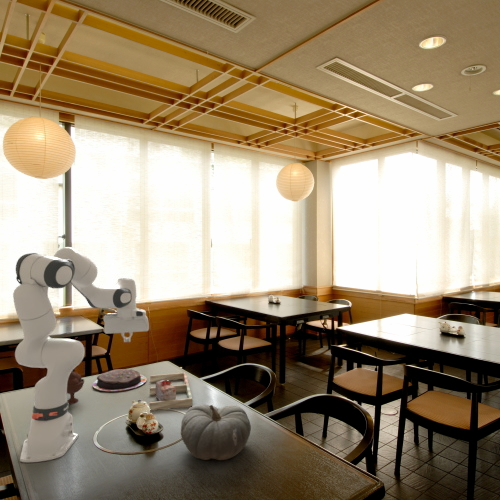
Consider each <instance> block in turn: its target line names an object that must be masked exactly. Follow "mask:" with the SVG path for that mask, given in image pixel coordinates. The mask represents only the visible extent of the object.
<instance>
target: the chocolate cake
mask: <svg viewBox="0 0 500 500" xmlns="http://www.w3.org/2000/svg"><path fill="white" fill-rule="evenodd" d="M144 383H145V384H146V383H147V377H146V376H144V375H143V374H141V373H140V372H138V370H135V369H128V368H123V369H121V368H120V369H118V368H115V369H113V370H109V371H105V372H104V373H101V374H99V375H98V376H96V380H95V381H93V383H92V388H93V389H95V390H97V391H100V392H105V393H119V392H128V391H130V390H133V389H136V388H139V387H141V386H143V385H145V384H144Z"/></svg>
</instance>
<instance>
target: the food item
mask: <svg viewBox="0 0 500 500" xmlns="http://www.w3.org/2000/svg"><path fill="white" fill-rule="evenodd" d="M155 387H156V395H155V398H157V399H158V400H157V401H166V400H176V396H177V393H176V388H175V387H174V386H173V384H172V382H171V381H167V380H161V381H157V382H155Z"/></svg>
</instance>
